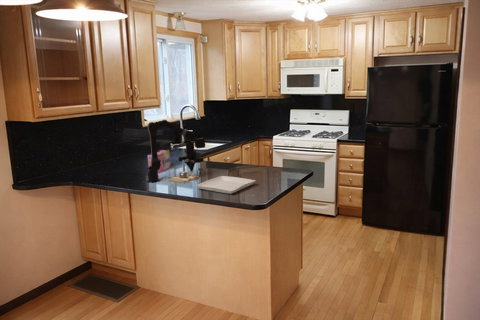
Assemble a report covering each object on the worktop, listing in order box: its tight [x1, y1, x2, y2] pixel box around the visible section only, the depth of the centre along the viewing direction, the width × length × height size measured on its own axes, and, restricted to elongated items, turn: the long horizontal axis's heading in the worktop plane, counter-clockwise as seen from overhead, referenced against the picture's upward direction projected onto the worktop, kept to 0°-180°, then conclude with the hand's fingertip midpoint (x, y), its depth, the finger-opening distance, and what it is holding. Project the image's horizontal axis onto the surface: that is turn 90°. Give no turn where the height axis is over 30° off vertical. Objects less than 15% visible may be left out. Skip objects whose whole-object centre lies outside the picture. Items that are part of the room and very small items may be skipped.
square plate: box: [195, 175, 256, 195], centre depth 248 cm, size 27×27×4 cm
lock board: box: [167, 174, 199, 184], centre depth 272 cm, size 15×14×2 cm
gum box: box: [147, 149, 171, 174], centre depth 305 cm, size 24×8×14 cm, turn 166°
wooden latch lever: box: [178, 169, 194, 178], centre depth 274 cm, size 13×5×3 cm, turn 151°
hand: (191, 171), depth 277 cm, fingers closed
